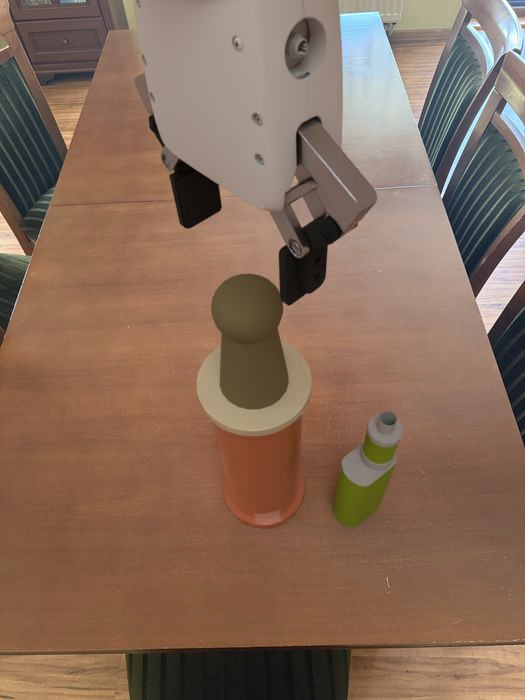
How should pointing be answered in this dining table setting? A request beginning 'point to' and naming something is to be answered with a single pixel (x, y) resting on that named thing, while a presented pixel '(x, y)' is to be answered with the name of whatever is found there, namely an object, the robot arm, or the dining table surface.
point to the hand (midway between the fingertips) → (248, 252)
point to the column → (259, 444)
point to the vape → (367, 471)
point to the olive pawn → (250, 341)
